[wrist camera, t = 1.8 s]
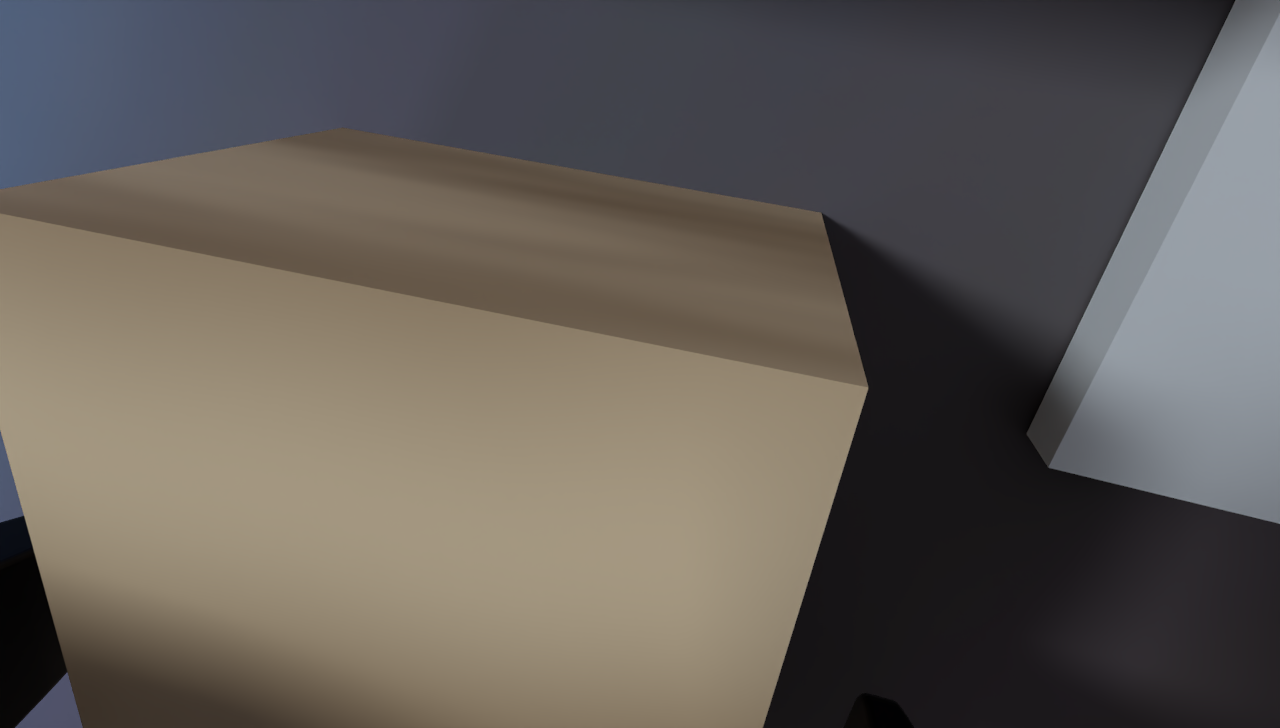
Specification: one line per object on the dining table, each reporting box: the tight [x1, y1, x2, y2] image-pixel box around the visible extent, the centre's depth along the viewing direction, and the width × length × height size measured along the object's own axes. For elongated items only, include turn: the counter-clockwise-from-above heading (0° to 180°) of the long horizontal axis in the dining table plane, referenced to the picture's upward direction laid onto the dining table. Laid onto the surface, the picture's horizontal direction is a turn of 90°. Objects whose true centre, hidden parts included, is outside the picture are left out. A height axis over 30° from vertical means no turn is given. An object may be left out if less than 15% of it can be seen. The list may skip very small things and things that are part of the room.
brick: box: [0, 128, 868, 728], centre depth 9 cm, size 10×6×5 cm, turn 172°
